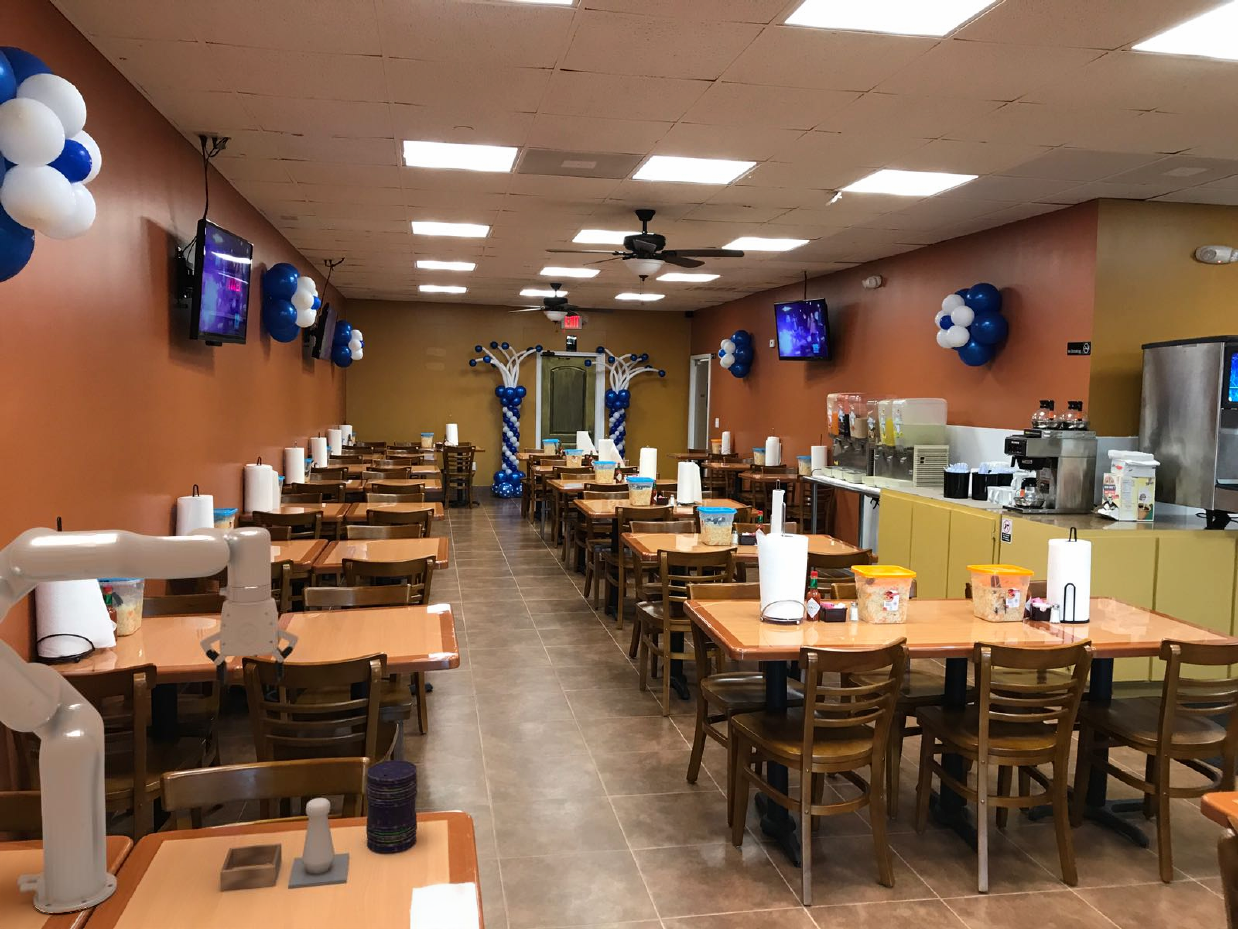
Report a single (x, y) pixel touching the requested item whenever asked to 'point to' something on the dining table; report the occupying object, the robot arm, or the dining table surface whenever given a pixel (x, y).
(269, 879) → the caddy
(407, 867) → the dining table surface
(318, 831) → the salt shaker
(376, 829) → the dark blue cylinder
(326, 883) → the coaster
